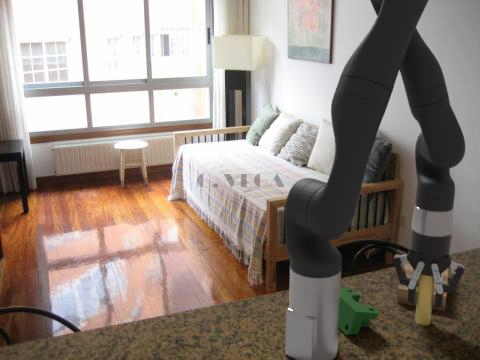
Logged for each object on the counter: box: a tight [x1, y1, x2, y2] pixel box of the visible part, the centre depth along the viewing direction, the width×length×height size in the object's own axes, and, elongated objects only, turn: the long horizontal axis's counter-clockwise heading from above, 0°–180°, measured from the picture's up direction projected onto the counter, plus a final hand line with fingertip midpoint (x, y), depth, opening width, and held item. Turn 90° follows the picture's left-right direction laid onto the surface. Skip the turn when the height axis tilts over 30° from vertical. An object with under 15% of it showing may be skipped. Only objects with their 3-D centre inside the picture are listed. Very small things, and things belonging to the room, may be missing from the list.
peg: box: [414, 275, 434, 326], centre depth 107 cm, size 3×3×11 cm
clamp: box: [338, 287, 379, 336], centre depth 108 cm, size 12×6×9 cm, turn 13°
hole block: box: [396, 260, 450, 312], centre depth 122 cm, size 18×10×4 cm, turn 157°
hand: (424, 305), depth 107 cm, fingers open, 4 cm apart
